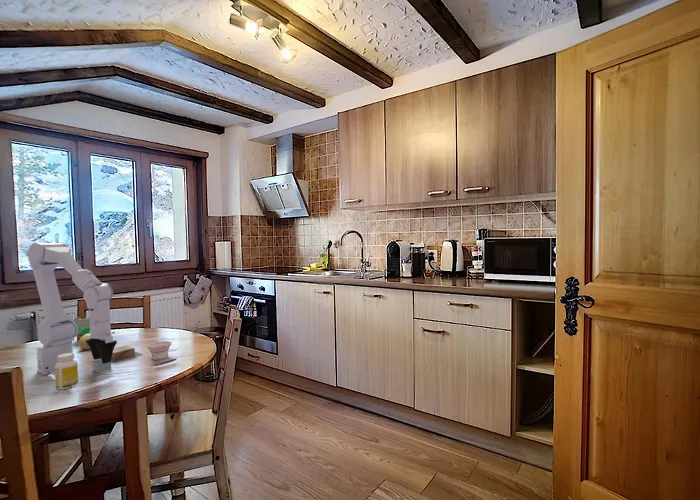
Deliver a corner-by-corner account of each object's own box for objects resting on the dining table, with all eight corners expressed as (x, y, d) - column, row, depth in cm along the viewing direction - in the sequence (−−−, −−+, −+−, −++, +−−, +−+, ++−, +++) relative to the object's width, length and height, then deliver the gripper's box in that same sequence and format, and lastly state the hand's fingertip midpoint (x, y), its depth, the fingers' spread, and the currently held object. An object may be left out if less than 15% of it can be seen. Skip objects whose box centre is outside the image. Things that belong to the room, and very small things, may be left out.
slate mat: (107, 367, 126) (107, 364, 126) (96, 361, 132) (96, 359, 132) (143, 357, 136) (143, 354, 136) (132, 352, 142) (132, 350, 142)
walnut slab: (113, 361, 129) (113, 353, 129) (106, 357, 133) (105, 349, 133) (134, 355, 135) (134, 348, 135) (126, 352, 139) (126, 345, 139)
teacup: (185, 356, 136) (184, 340, 136) (160, 368, 124) (159, 350, 124) (159, 354, 139) (158, 338, 139) (132, 365, 128) (131, 348, 127)
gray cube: (97, 375, 119) (97, 363, 119) (93, 373, 121) (92, 361, 121) (111, 371, 122) (110, 360, 122) (106, 369, 124) (106, 357, 124)
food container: (66, 341, 161) (65, 319, 161) (80, 337, 167) (79, 316, 167) (87, 343, 158) (86, 320, 158) (100, 339, 164) (99, 317, 163)
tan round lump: (100, 349, 147) (99, 332, 147) (76, 352, 144) (75, 335, 144) (103, 344, 155) (103, 328, 154) (81, 347, 151) (80, 330, 151)
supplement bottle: (82, 382, 112) (81, 351, 112) (69, 390, 107) (68, 357, 107) (64, 383, 112) (63, 352, 112) (51, 390, 107) (49, 358, 107)
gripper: (122, 320, 120) (124, 361, 120) (105, 316, 128) (107, 353, 129) (97, 325, 114) (99, 367, 114) (81, 320, 123) (83, 359, 123)
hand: (102, 360), depth 121 cm, fingers open, 7 cm apart
